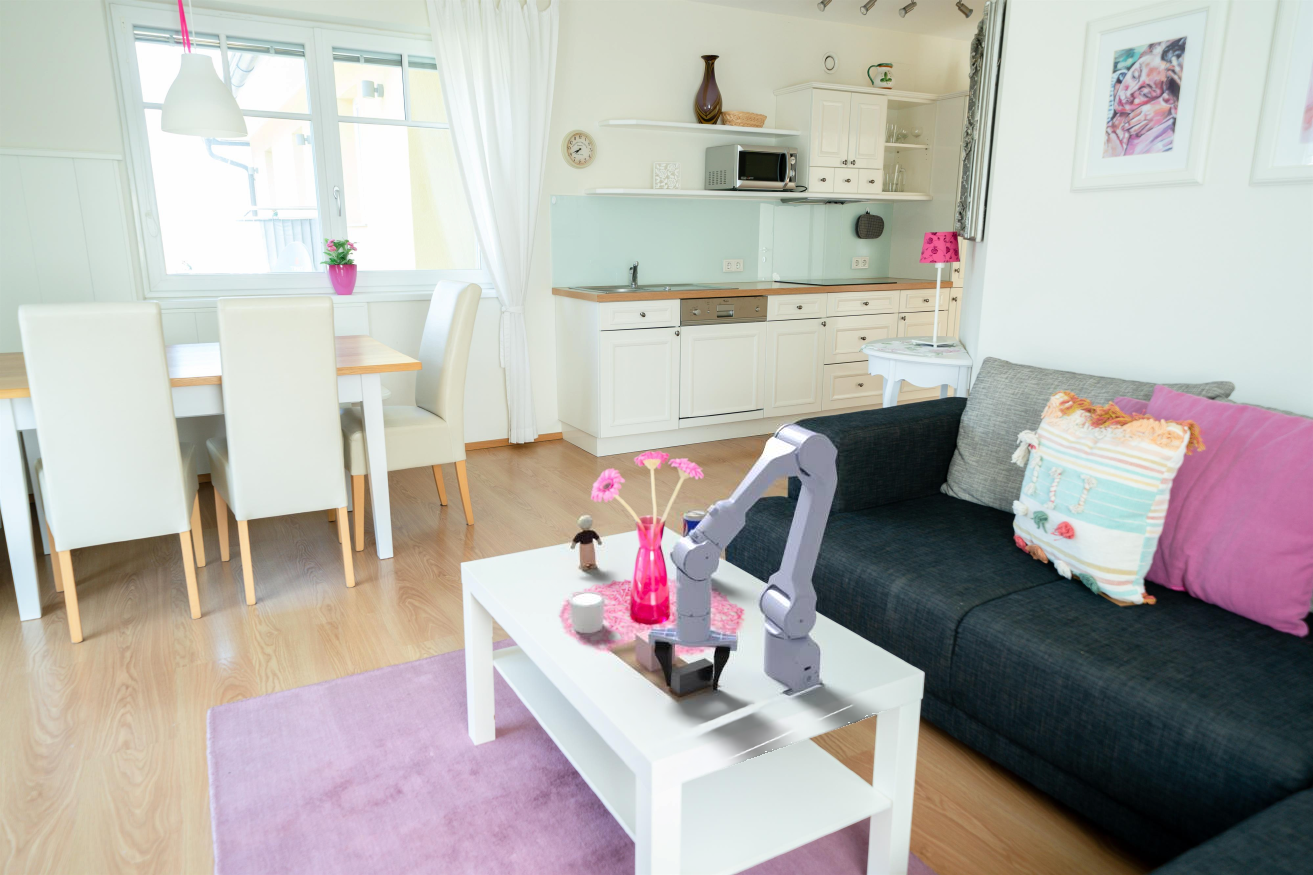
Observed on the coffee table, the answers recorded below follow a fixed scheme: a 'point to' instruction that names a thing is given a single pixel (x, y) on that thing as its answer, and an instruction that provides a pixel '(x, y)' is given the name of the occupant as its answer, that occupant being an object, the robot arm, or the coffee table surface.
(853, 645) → the coffee table surface
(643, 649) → the cube
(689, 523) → the beverage can
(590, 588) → the coffee table surface
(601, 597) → the white candle
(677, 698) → the strip
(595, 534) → the grandmother figurine
